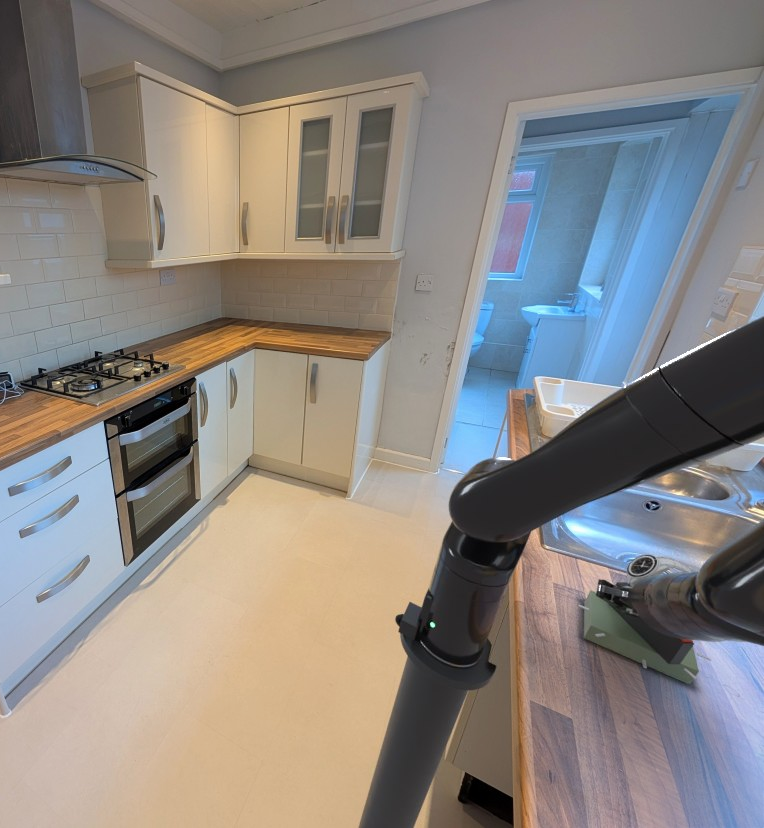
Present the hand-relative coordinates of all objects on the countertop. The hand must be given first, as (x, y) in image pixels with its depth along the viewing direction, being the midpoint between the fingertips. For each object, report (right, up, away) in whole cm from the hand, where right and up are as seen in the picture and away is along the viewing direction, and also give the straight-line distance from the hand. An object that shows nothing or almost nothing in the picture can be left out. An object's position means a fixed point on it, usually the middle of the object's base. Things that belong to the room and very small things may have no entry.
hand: (627, 607), depth 66 cm
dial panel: (+3, -6, +2) cm, 7 cm away
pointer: (+2, -4, 0) cm, 4 cm away
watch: (+9, -4, +7) cm, 12 cm away
